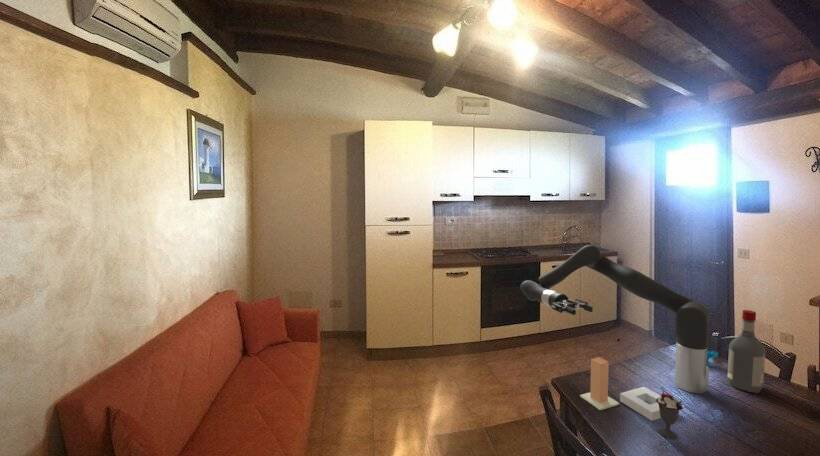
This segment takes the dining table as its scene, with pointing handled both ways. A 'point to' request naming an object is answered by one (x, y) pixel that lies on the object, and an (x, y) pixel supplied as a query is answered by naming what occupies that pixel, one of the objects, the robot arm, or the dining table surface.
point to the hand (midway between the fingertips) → (583, 311)
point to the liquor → (746, 357)
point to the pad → (599, 405)
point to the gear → (711, 356)
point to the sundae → (668, 413)
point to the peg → (599, 379)
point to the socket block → (642, 402)
